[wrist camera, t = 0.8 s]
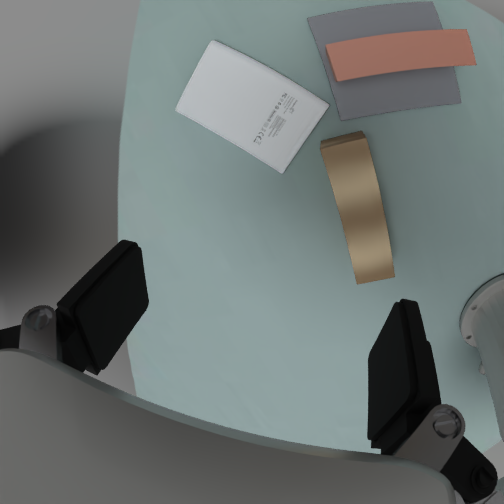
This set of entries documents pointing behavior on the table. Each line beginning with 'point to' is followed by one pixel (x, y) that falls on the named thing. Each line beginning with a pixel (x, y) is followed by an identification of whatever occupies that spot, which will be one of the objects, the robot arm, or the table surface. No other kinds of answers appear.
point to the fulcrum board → (391, 83)
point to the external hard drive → (250, 105)
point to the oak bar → (359, 205)
